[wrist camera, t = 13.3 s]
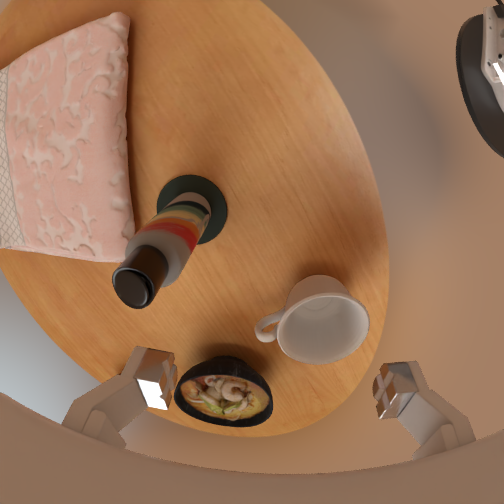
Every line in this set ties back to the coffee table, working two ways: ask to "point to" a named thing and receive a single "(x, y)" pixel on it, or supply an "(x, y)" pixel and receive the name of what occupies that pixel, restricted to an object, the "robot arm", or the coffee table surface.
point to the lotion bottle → (161, 250)
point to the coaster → (204, 189)
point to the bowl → (224, 393)
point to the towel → (67, 145)
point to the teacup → (317, 322)
